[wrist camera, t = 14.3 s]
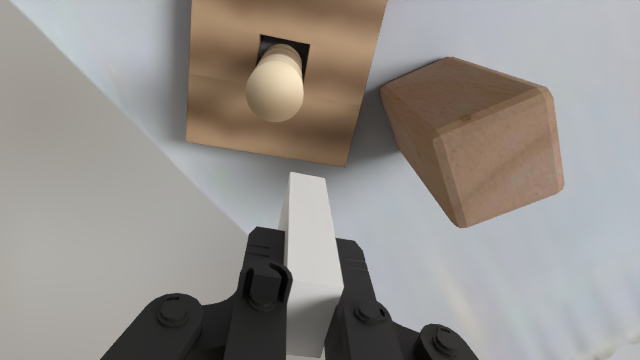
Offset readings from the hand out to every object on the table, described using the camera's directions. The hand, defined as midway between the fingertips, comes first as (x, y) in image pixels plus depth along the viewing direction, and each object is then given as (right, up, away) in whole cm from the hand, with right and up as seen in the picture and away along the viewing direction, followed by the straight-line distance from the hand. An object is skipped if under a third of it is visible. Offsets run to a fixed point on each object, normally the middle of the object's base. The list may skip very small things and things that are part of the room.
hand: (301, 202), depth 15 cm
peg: (-4, +15, +28) cm, 32 cm away
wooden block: (+14, +11, +31) cm, 36 cm away
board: (-4, +15, +28) cm, 32 cm away
